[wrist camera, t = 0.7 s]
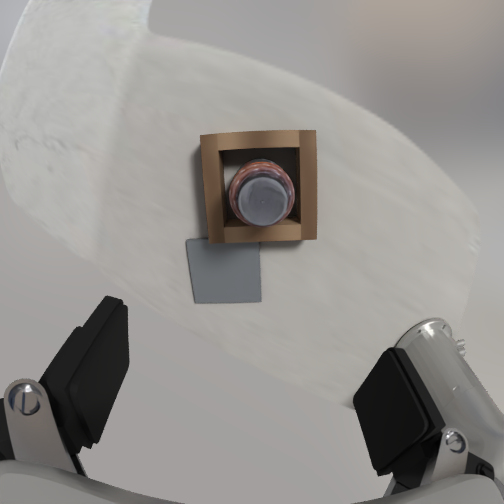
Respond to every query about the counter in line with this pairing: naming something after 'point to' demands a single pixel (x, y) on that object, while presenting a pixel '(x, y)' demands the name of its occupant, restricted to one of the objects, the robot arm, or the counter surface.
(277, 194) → the supplement bottle
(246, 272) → the slate coaster
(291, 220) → the pocket frame
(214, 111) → the counter surface
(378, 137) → the counter surface
